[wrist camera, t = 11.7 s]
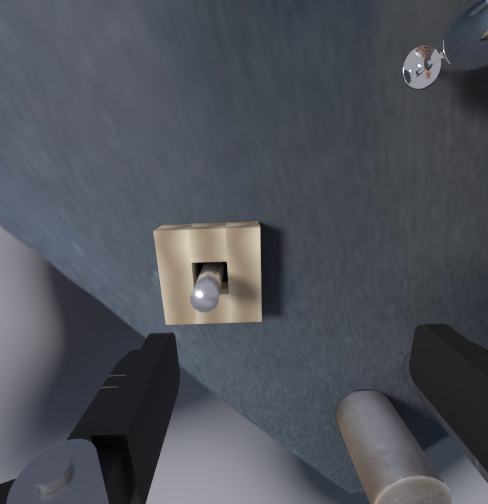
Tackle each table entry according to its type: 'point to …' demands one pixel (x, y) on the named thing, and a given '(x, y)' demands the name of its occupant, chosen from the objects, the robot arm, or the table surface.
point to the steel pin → (207, 287)
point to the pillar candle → (387, 453)
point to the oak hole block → (210, 250)
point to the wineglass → (452, 47)
